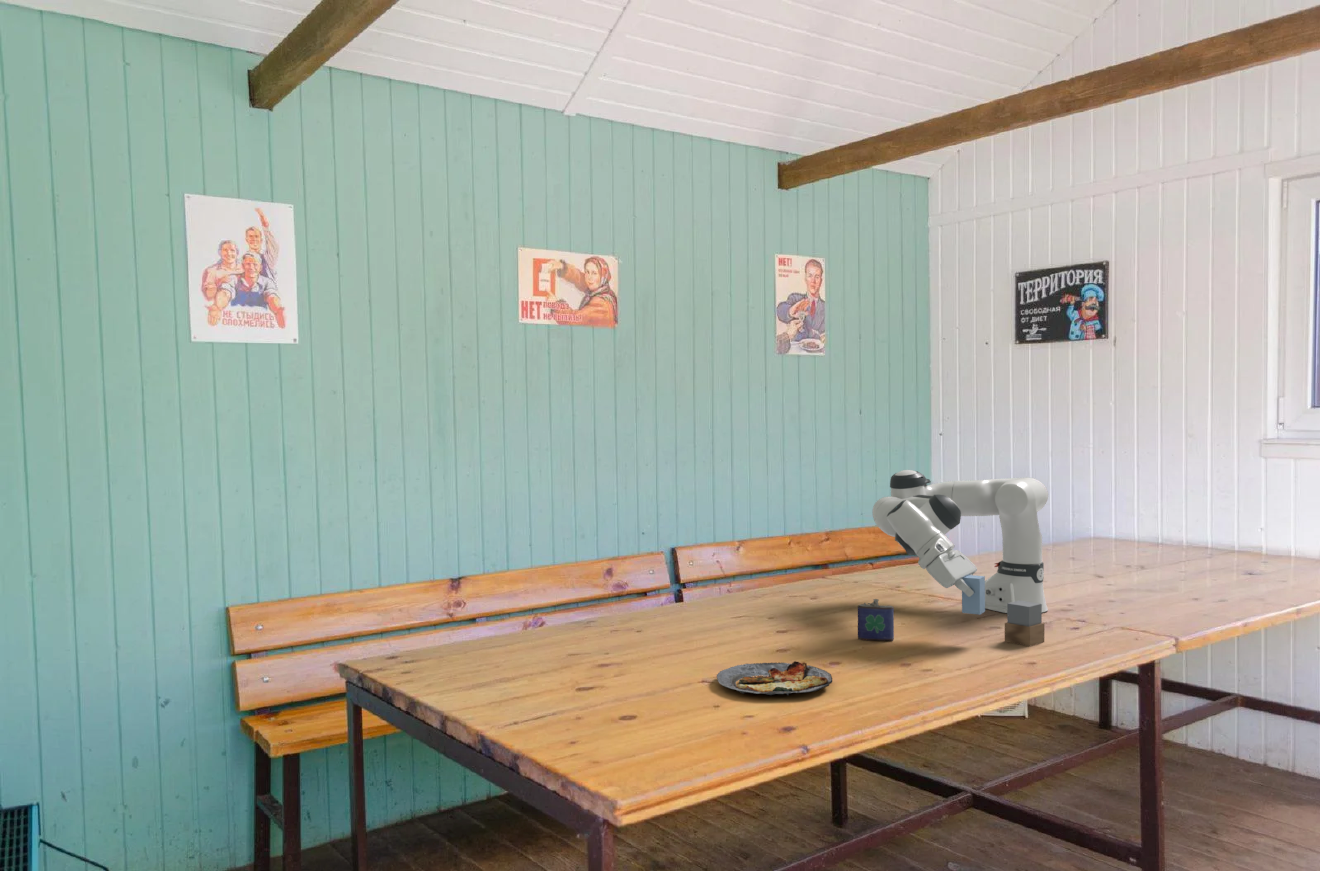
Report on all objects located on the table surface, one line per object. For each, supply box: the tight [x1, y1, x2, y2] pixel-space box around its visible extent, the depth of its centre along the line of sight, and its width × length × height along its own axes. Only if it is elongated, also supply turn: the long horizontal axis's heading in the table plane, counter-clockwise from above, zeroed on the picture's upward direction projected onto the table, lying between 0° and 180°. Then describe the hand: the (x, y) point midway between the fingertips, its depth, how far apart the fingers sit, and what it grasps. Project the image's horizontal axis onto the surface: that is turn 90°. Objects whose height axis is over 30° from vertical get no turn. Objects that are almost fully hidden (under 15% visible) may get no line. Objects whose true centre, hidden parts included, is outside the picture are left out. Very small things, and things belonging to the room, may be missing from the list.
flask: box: [857, 598, 895, 643], centre depth 252 cm, size 9×3×11 cm, turn 74°
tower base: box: [1004, 621, 1045, 647], centre depth 249 cm, size 7×7×5 cm
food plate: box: [716, 660, 833, 696], centre depth 211 cm, size 25×23×4 cm
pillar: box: [961, 574, 986, 616], centre depth 247 cm, size 4×4×9 cm
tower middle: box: [1006, 600, 1043, 627], centre depth 249 cm, size 6×6×5 cm
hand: (975, 592), depth 246 cm, fingers closed on pillar, 4 cm apart
